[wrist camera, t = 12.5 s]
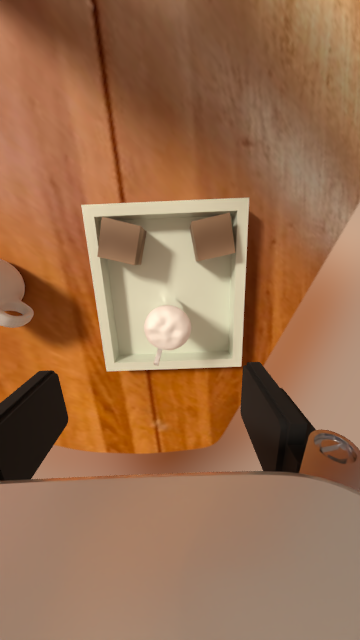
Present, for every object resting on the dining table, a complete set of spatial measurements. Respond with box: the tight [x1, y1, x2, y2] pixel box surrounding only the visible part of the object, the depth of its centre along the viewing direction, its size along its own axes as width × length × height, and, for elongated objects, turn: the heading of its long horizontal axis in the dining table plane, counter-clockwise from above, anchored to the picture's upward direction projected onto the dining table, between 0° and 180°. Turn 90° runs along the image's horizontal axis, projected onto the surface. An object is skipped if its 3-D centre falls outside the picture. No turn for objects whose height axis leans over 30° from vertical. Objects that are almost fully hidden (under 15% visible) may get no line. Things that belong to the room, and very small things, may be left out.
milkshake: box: [144, 298, 191, 366], centre depth 23 cm, size 5×5×10 cm
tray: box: [81, 198, 249, 371], centre depth 26 cm, size 20×18×3 cm
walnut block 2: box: [190, 213, 235, 261], centre depth 23 cm, size 4×4×4 cm
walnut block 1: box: [97, 217, 147, 265], centre depth 24 cm, size 4×4×4 cm
